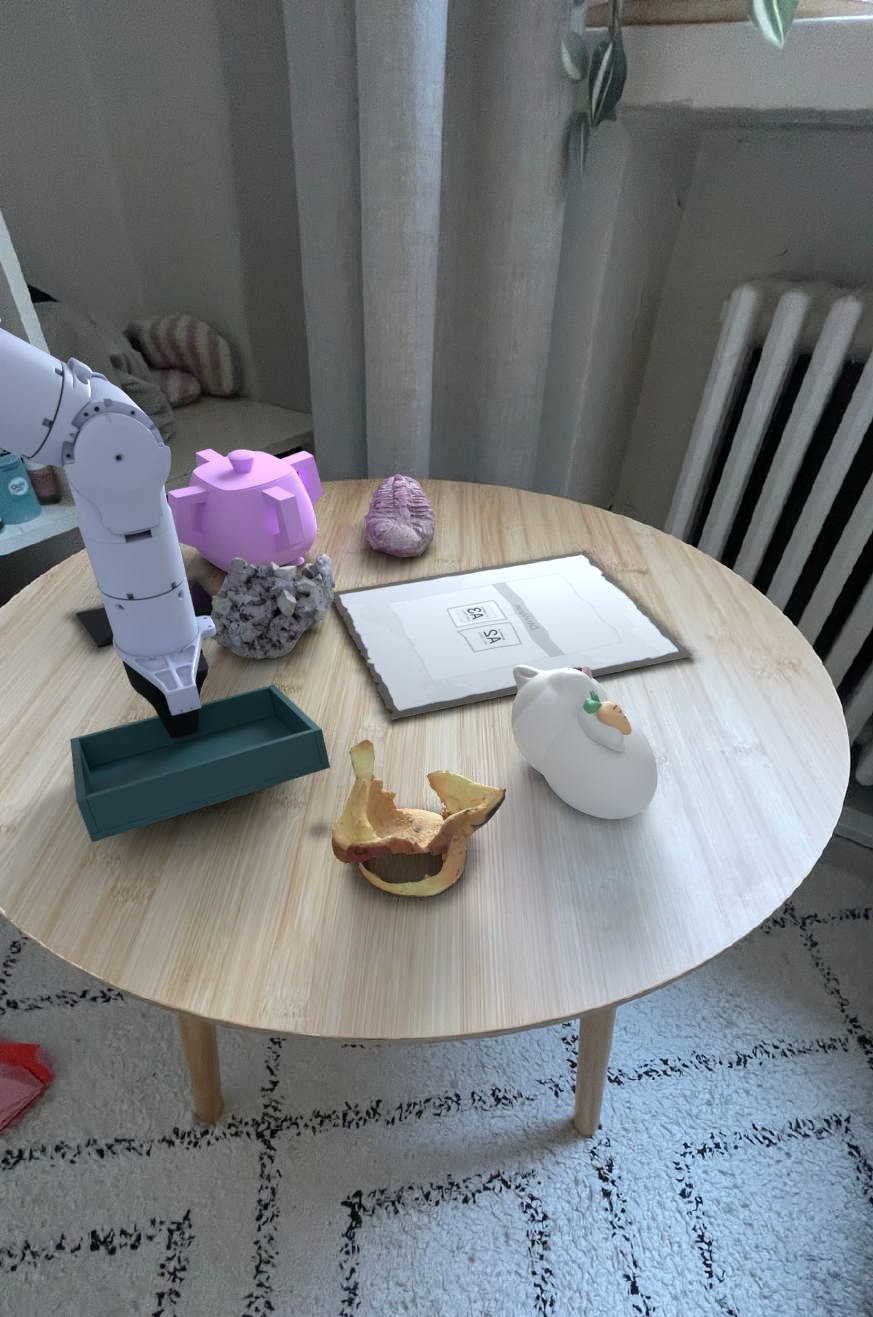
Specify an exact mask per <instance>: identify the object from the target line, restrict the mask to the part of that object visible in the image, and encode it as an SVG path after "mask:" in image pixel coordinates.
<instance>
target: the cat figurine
mask: <svg viewBox="0 0 873 1317" xmlns="http://www.w3.org/2000/svg"><path fill="white" fill-rule="evenodd" d="M513 675H514V679H515V682H516V685H517V690H518V693H516V695H515V698H514V701H513V704H512V709H511V716H510V724H511V731H512V732H511V733H512V736H513V739H514V741H515V744H516V747H517V748H518V750H519V751H520V754H521V755H522V756H523V758H524V759H525V761H526V762H527V763H528V764H529V765H530V766H531V768H533V769H534V770H535V771H537V772H539V773H540V774H541V775H543V777H544V779H545V780H546V782H547V784H548V785H549V787H550V788H551V789H552V790H553V792H554V793H555V794H556V795H557V797H559V798H560V799H561V800H562V801H563V802H565V803H566V804H567V805H569V806H570V807H571V808H574V809H575V810H577V811H579V812H582V813H584V814H586V815H589V816H592V817H595V818H600V819H606V820H620V819H621V820H622V819H627V818H631V817H634V816H635V815H638V814H640V813H642V812H643V811H644V810H646V809H647V808H648V807H649V805H650V804H651V802H652V801H653V800H654V797H655V795H656V791H657V786H658V779H659V778H658V777H659V776H658V766H657V760H656V756H655V752H654V751H653V748H652V746H651V743H650V741H649V739H648V738H647V736H646V734H645V733H644V731H643V729H641V727H640V726H639V725H638V723H637V722H636V721H635V720H634V719H632V717H631V716H629V715H628V714H627V713H626V712H624V711H623V710H622V708H621V707H620V706H619V705H618V704H617V703H615V702H614V701H609V698H608V696H607V692H606V691H605V689H604V688H603V686H602V685H601V684H600V683H599V681H597V679H595V677H592V672H591V669H590V668H589V667H588V666H584V667H583V668H581V667H578V666H576V667H573V668H561V669H556V670H550V671H542V670H538V669H535V668H532V667H530V666H527V665H517V666H516V667H515V668H514V670H513Z"/></svg>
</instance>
